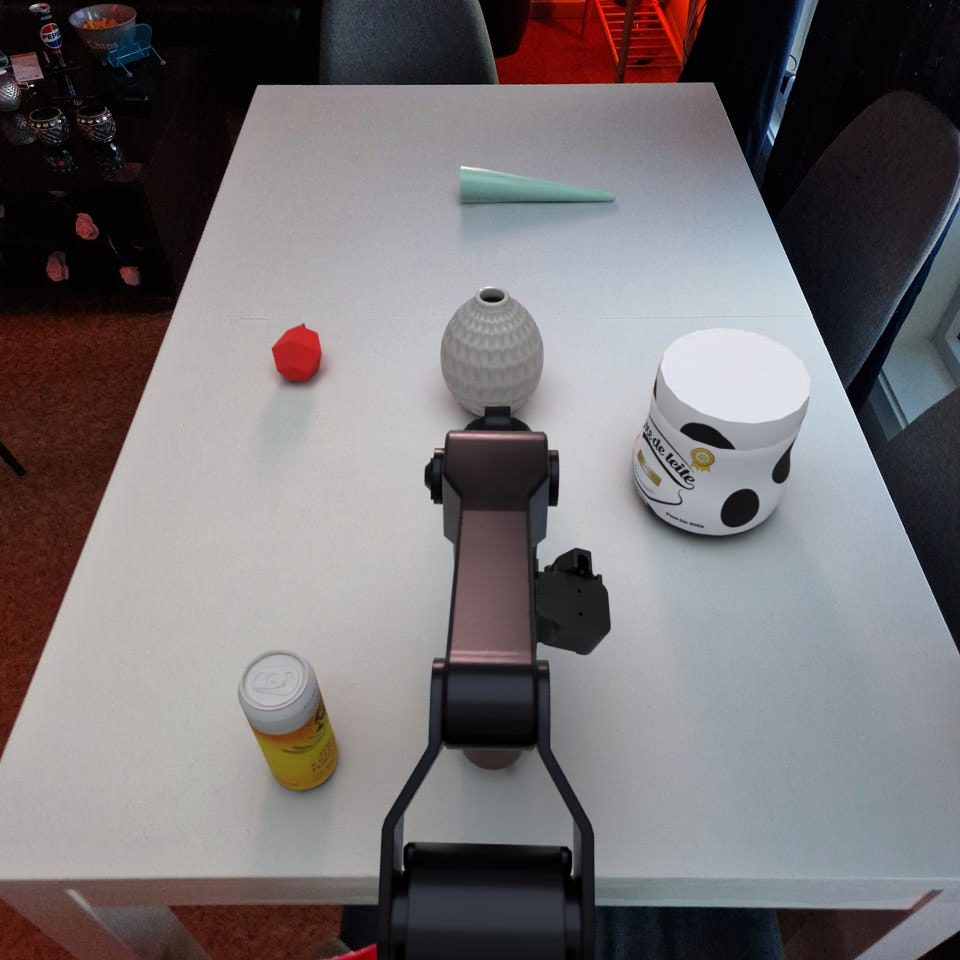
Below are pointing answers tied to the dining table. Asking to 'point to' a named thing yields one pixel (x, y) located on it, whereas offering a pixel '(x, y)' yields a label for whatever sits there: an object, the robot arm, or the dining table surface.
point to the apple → (297, 353)
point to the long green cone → (520, 188)
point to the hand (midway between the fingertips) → (493, 681)
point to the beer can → (288, 718)
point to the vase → (491, 352)
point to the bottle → (492, 758)
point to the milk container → (720, 431)
